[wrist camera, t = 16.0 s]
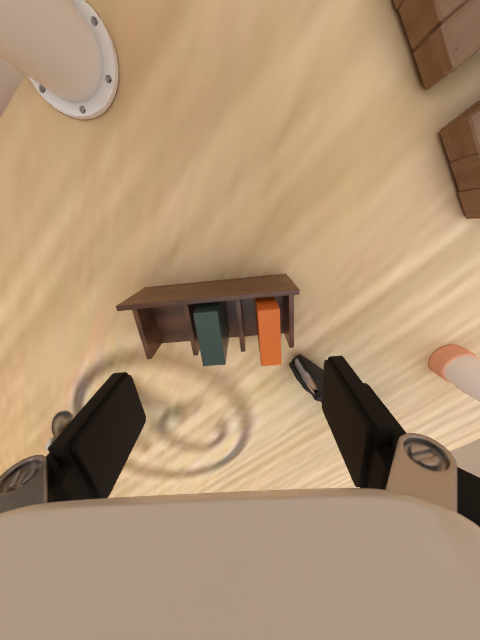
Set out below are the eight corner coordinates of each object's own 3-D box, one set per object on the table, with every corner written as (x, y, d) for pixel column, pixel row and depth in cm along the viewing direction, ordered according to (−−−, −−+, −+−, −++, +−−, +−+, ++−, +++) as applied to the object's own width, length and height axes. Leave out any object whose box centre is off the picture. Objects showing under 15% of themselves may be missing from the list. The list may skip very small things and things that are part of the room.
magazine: (414, 455, 48) (343, 424, 33) (401, 462, 49) (326, 436, 34) (361, 390, 61) (295, 348, 46) (352, 397, 62) (284, 358, 47)
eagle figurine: (88, 442, 59) (79, 423, 54) (56, 466, 54) (43, 447, 49) (73, 424, 62) (64, 405, 57) (42, 445, 57) (28, 425, 52)
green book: (205, 290, 42) (192, 313, 31) (224, 288, 42) (217, 311, 31) (212, 333, 46) (203, 367, 35) (229, 332, 46) (225, 366, 35)
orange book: (253, 286, 42) (257, 310, 30) (269, 284, 42) (279, 308, 30) (256, 330, 46) (261, 367, 34) (271, 328, 45) (281, 366, 33)
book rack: (144, 287, 43) (115, 306, 33) (286, 273, 42) (299, 289, 32) (159, 341, 48) (137, 372, 38) (287, 331, 46) (299, 360, 36)
